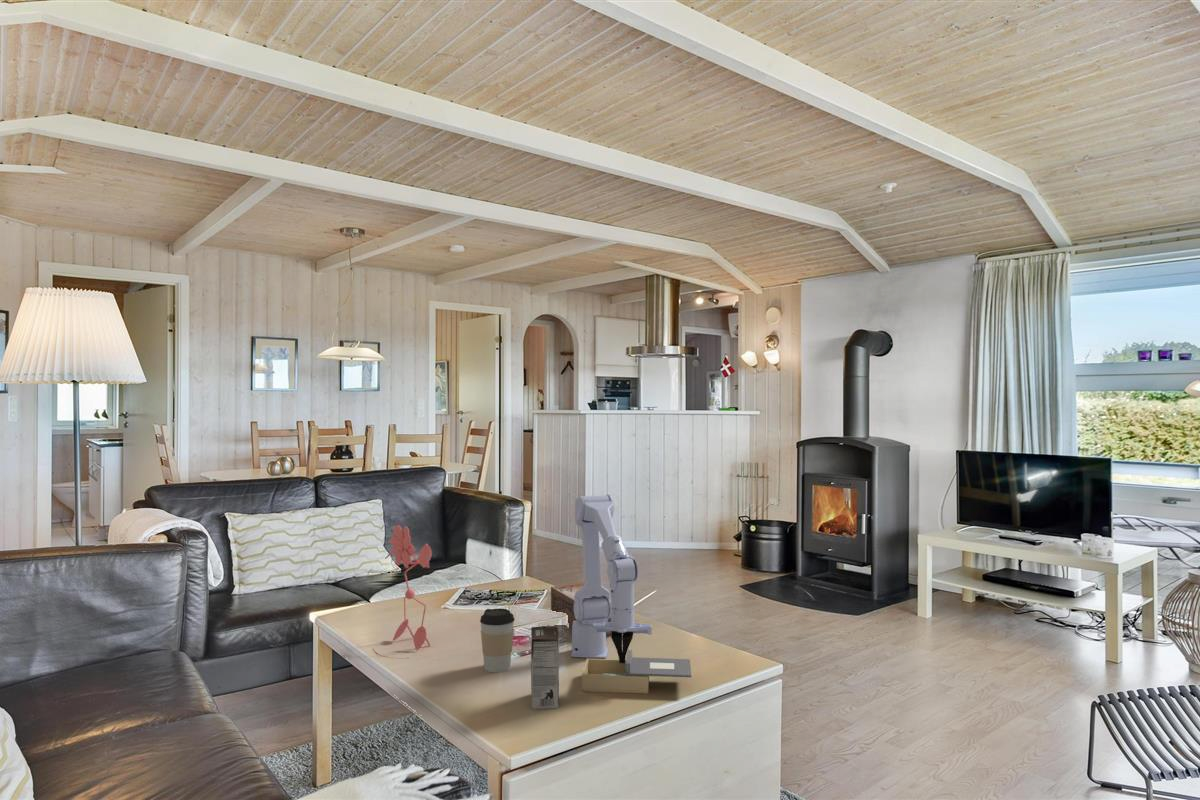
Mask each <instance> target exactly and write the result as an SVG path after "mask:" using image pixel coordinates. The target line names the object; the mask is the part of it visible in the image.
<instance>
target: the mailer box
mask: <svg viewBox="0 0 1200 800" xmlns="http://www.w3.org/2000/svg"><path fill="white" fill-rule="evenodd" d="M625 663H626V659H625ZM625 663H619V659H615V658H614V659H613V658H611V659H608V658H586V661H585V664H584V665H583V670H582V674H581V691H582V692H598V693H599V692H602V693H603V692H604V693H623V694H624V693H625V694H626V693H629V694H649V684H650V676H635V675H624V673H625Z"/></svg>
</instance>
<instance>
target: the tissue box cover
mask: <svg viewBox="0 0 1200 800" xmlns="http://www.w3.org/2000/svg"><path fill="white" fill-rule="evenodd" d="M583 586H584V582H580V583H573V584H565V585H556V586H550V611H551V610H552V611H556V612H563V613H566V614H567V615H568V623H569V631H571V632H572V625H573V621H577V620H576V618H575V615H574V599H575V593H576V592H577V591H578V590H579V589H580V588H581V587H583ZM608 591H609V590H608ZM609 592H610V598H611V590H610V591H609ZM592 597H601V596H592ZM586 598H590V597H586ZM608 622H611V617H610V618H609V619H608ZM622 635H623V633H622ZM610 636H612V633H610V632H606V638H607V637H610Z"/></svg>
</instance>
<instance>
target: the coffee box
mask: <svg viewBox="0 0 1200 800" xmlns="http://www.w3.org/2000/svg"><path fill="white" fill-rule="evenodd" d="M530 631H531V632H530V634H531V635H530V636H531V638H530V639H531V641H530V648H531V649H530V652H531V653H530V654H531V655H530V672H531V673H530V674H531V675H530V679H531V680H530V684H531V685H530V687H531V688H530V689H531V693H530V694H531V709H532V710H537V709H538V710H540V709H541V710H542V709H558V708H559V699H560V698H559V692H560V691H559V690H560V688H559V687H560V683H559V682H560V677H559V676H560V673H559V672H560V637H559V628H558V626H532V627H531V630H530Z"/></svg>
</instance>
